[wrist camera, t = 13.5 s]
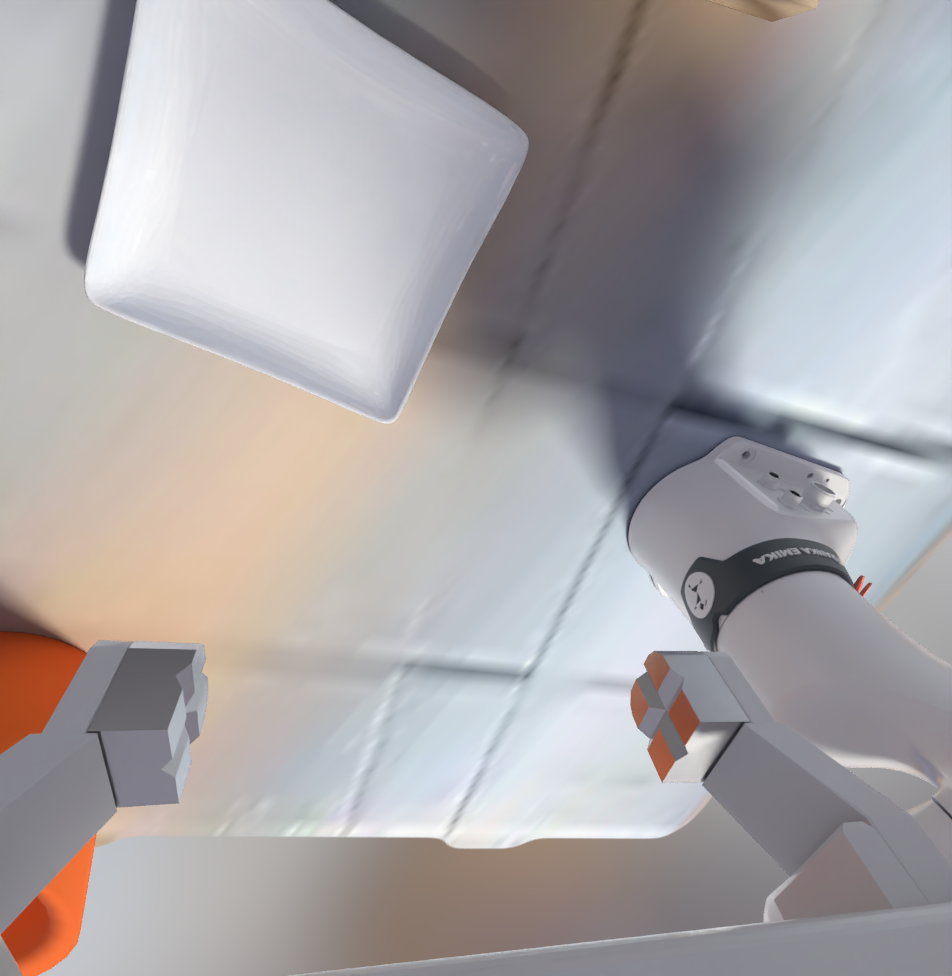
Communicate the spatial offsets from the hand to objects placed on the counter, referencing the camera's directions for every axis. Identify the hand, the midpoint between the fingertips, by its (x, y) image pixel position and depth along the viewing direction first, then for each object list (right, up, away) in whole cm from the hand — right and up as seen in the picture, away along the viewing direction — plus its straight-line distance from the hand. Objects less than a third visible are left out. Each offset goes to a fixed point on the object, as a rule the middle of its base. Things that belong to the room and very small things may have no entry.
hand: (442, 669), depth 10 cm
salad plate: (-10, +21, +26) cm, 35 cm away
